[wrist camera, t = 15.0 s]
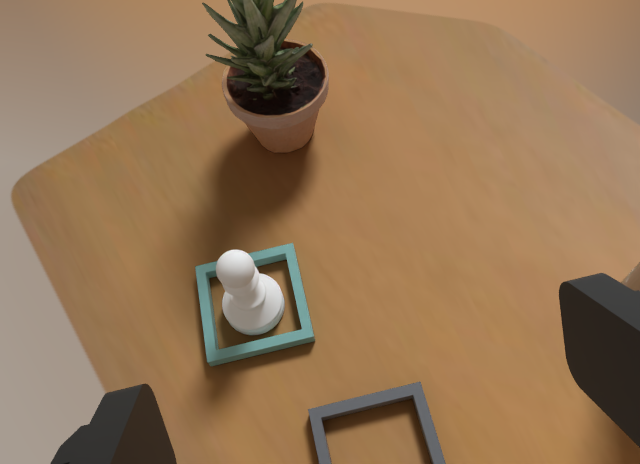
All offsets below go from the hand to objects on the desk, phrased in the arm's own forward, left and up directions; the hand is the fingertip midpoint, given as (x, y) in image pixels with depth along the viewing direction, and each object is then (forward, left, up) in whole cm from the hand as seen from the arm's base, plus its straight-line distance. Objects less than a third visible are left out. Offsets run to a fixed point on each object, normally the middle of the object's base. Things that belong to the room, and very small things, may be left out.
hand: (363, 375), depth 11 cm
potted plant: (0, -35, -34) cm, 49 cm away
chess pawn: (+6, -16, -34) cm, 38 cm away
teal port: (+6, -17, -34) cm, 38 cm away
